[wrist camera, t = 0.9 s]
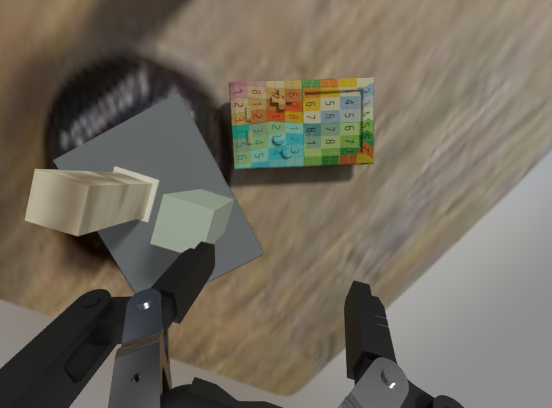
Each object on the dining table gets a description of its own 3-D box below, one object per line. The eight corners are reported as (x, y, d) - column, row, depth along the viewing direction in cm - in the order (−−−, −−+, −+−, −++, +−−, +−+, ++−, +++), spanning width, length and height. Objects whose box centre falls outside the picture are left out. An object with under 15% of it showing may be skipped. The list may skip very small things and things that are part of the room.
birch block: (109, 206, 35) (24, 220, 23) (118, 172, 34) (35, 168, 22) (144, 216, 35) (77, 236, 23) (152, 183, 34) (89, 185, 23)
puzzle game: (227, 79, 30) (377, 74, 30) (233, 93, 34) (363, 88, 34) (233, 168, 31) (376, 163, 31) (238, 170, 36) (362, 165, 36)
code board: (56, 160, 35) (51, 160, 34) (179, 94, 34) (177, 92, 33) (149, 310, 38) (146, 313, 37) (264, 252, 37) (264, 254, 36)
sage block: (191, 221, 35) (150, 243, 24) (200, 188, 35) (163, 194, 23) (224, 232, 36) (200, 258, 24) (234, 199, 35) (214, 210, 23)
